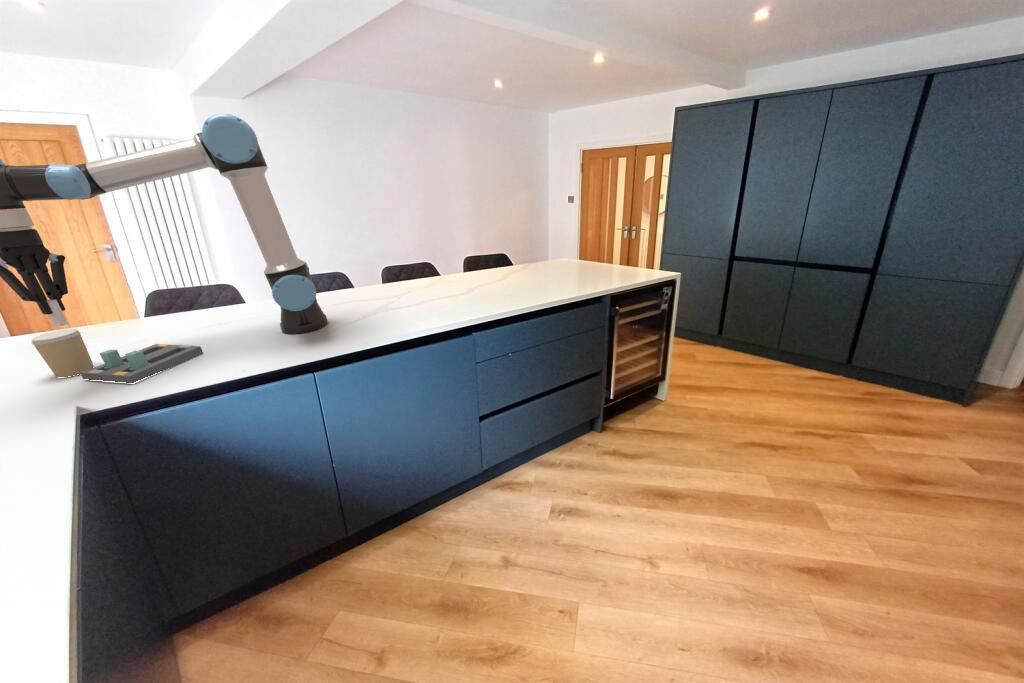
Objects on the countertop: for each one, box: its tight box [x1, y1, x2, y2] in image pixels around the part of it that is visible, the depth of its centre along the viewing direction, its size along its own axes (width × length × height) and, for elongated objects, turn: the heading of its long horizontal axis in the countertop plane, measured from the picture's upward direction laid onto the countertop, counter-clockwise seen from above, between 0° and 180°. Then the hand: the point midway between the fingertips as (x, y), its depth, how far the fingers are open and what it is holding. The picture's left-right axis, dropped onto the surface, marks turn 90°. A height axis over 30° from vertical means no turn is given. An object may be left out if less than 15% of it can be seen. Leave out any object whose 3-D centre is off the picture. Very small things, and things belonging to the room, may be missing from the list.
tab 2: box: [124, 350, 152, 373], centre depth 108 cm, size 3×4×5 cm
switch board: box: [80, 343, 204, 383], centre depth 113 cm, size 18×20×3 cm
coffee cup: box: [31, 328, 95, 378], centre depth 111 cm, size 9×9×12 cm
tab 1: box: [99, 349, 127, 371], centre depth 109 cm, size 3×4×5 cm
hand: (61, 324), depth 99 cm, fingers closed
